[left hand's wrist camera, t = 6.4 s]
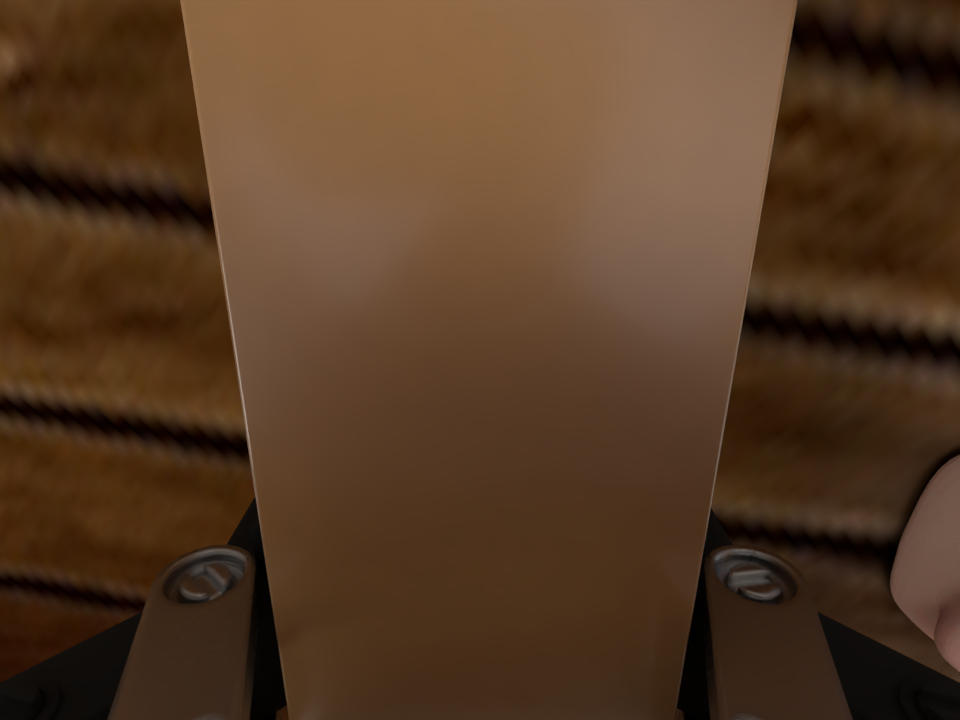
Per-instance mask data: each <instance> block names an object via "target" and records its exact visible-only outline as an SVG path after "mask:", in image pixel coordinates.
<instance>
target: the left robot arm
mask: <svg viewBox="0 0 960 720" xmlns="http://www.w3.org/2000/svg"><path fill="white" fill-rule="evenodd" d="M286 705H287V702H286V695H285V689H284V682H283V675H282V669H281V662H280V656H279V649H278V642H277V636H276V629H275V622H274V616H273V609H272V603H271V596H270V589H269V583H268V576H267V570H266V563H265V556H264V550H263V543H262V536H261V530H260V523H259V517H258V510H257V503H256V497H255V498H254V500H253V501H252V503H251V505H250V506H249V508H248V510H247V511H246V513H245V515H244V516H243V518H242V520H241V522H240V523H239V525H238V527H237V528H236V530H235V532H234V533H233V535H232V537H231V538H230V540H229V542H228V544H227V545H213V546H208V547H204V548H200V549H196V550H194V551H191V552H189V553H187V554H184V555H182V556H180V557H178V558H177V559H175V560H174V561H172V562H171V563H169V564H168V565H167V566H166V567H165V568H164V569H163V570H162V571H161V572H160V573H159V574H158V575H157V577H156V578H155V580H154V582H153V584H152V586H151V589H150V592H149V595H148V598H147V601H146V604H145V607H144V610H143V612H141V613H139V614H137V615H135V616H133V617H131V618H129V619H127V620H125V621H123V622H121V623H119V624H117V625H115V626H113V627H111V628H109V629H107V630H105V631H103V632H101V633H99V634H97V635H95V636H93V637H91V638H89V639H87V640H85V641H83V642H81V643H79V644H77V645H75V646H73V647H71V648H69V649H67V650H65V651H63V652H61V653H59V654H57V655H55V656H53V657H51V658H49V659H47V660H45V661H43V662H41V663H39V664H37V665H35V666H33V667H31V668H29V669H27V670H25V671H23V672H21V673H19V674H17V675H15V676H13V677H11V678H9V679H7V680H5V681H3V682H1V683H0V720H282V718H281V712H280V709H281V708H283V707H284V706H286ZM677 708H678V709H680V712H679V718H678V720H960V683H959V682H957V681H955V680H953V679H951V678H949V677H947V676H945V675H943V674H941V673H939V672H937V671H935V670H933V669H931V668H929V667H927V666H925V665H923V664H921V663H919V662H917V661H915V660H913V659H911V658H909V657H907V656H905V655H903V654H901V653H899V652H897V651H895V650H893V649H891V648H889V647H887V646H885V645H883V644H881V643H879V642H877V641H875V640H873V639H871V638H869V637H867V636H865V635H863V634H861V633H859V632H857V631H855V630H853V629H851V628H849V627H847V626H845V625H843V624H841V623H839V622H837V621H835V620H833V619H831V618H829V617H827V616H825V615H822V614H820V613H818V612H817V610H816V607H815V604H814V601H813V598H812V595H811V592H810V589H809V586H808V584H807V582H806V580H805V578H804V577H803V575H802V574H801V573H800V572H799V571H798V570H797V569H796V568H795V567H794V566H793V565H792V564H791V563H789V562H788V561H786V560H785V559H783V558H782V557H780V556H778V555H776V554H773V553H771V552H769V551H766V550H764V549H760V548H756V547H752V546H747V545H733V544H732V543H731V541H730V539H729V538H728V536H727V534H726V533H725V531H724V529H723V528H722V526H721V524H720V522H719V521H718V519H717V517H716V516H715V514H714V512H713V511H712V509H711V510H710V516H709V521H708V527H707V533H706V539H705V545H704V551H703V557H702V562H701V568H700V574H699V580H698V586H697V592H696V598H695V603H694V609H693V615H692V621H691V627H690V633H689V638H688V644H687V650H686V656H685V662H684V668H683V674H682V679H681V685H680V691H679V697H678V703H677Z"/></svg>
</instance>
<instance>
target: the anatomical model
mask: <svg viewBox="0 0 960 720" xmlns="http://www.w3.org/2000/svg"><path fill="white" fill-rule="evenodd" d="M890 588H891V593H892V596H893V598H894V601H895V602H896V604H897V605H898V606H899V608H900V609H901V610H902V611H903V612H904V613H905V614H906V615H907V617H908V618H909V619H910V620H911V621H912V622H913V623H914V624H916V625H917V626H918V627H919V628H920V629H921V630H922V631H923V632H924V633H925V634H927V635H928V636H929V637H930V638H931V639H933V640H934V641H935V644H936V647H937V649H938V651H939V652H940V654H941V655H942V656H943V658H944V659H945V660H946V661H947V662H948V663H949V664H950V665H951V666H953V667H954V668H955V669H956V670H958V671H959V672H960V454H959V455H957V456H956V457H954V458H952V459H950V460H949V461H948V462H947V463H945V464H944V465H943V466H942V467H941V468H940V469H939V470H938V471H937V472H936V473H935V475H934V476H933V477H932V478H931V480H930V481H929V483H928V484H927V486H926V488H925V489H924V491H923V493H922V494H921V496H920V498H919V500H918V502H917V504H916V506H915V508H914V511H913V513H912V515H911V517H910V519H909V521H908V523H907V526H906V528H905V530H904V532H903V534H902V537H901V540H900V543H899V546H898V549H897V552H896V556H895V560H894V564H893V567H892V571H891V578H890Z"/></svg>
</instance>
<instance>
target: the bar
mask: <svg viewBox="0 0 960 720" xmlns="http://www.w3.org/2000/svg"><path fill="white" fill-rule="evenodd" d="M180 1H181V7H182V14H183V21H184V27H185V34H186V40H187V47H188V54H189V60H190V67H191V74H192V80H193V87H194V93H195V100H196V107H197V113H198V120H199V126H200V133H201V140H202V146H203V153H204V160H205V166H206V173H207V179H208V186H209V193H210V199H211V206H212V212H213V219H214V226H215V232H216V239H217V245H218V252H219V259H220V265H221V272H222V279H223V285H224V292H225V298H226V305H227V312H228V318H229V325H230V331H231V338H232V345H233V351H234V358H235V365H236V371H237V378H238V384H239V391H240V398H241V404H242V411H243V417H244V424H245V431H246V437H247V444H248V451H249V457H250V464H251V470H252V477H253V484H254V490H255V497H256V503H257V510H258V517H259V523H260V530H261V536H262V543H263V550H264V556H265V563H266V570H267V576H268V583H269V589H270V596H271V603H272V609H273V616H274V622H275V629H276V636H277V642H278V649H279V656H280V662H281V669H282V675H283V682H284V689H285V695H286V702H287V708H288V715H289V720H675V715H676V709H677V703H678V697H679V691H680V685H681V679H682V674H683V668H684V662H685V656H686V650H687V644H688V638H689V633H690V627H691V621H692V615H693V609H694V603H695V598H696V592H697V586H698V580H699V574H700V568H701V562H702V557H703V551H704V545H705V539H706V533H707V527H708V521H709V516H710V510H711V504H712V498H713V492H714V486H715V481H716V475H717V469H718V463H719V457H720V451H721V445H722V440H723V434H724V428H725V422H726V416H727V410H728V404H729V399H730V393H731V387H732V381H733V375H734V369H735V364H736V358H737V352H738V346H739V340H740V334H741V328H742V323H743V317H744V311H745V305H746V299H747V293H748V288H749V282H750V276H751V270H752V264H753V258H754V252H755V247H756V241H757V235H758V229H759V223H760V217H761V211H762V206H763V200H764V194H765V188H766V182H767V176H768V171H769V165H770V159H771V153H772V147H773V141H774V135H775V130H776V124H777V118H778V112H779V106H780V100H781V94H782V89H783V83H784V77H785V71H786V65H787V59H788V54H789V48H790V42H791V36H792V30H793V24H794V18H795V13H796V7H797V1H798V0H180Z"/></svg>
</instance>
